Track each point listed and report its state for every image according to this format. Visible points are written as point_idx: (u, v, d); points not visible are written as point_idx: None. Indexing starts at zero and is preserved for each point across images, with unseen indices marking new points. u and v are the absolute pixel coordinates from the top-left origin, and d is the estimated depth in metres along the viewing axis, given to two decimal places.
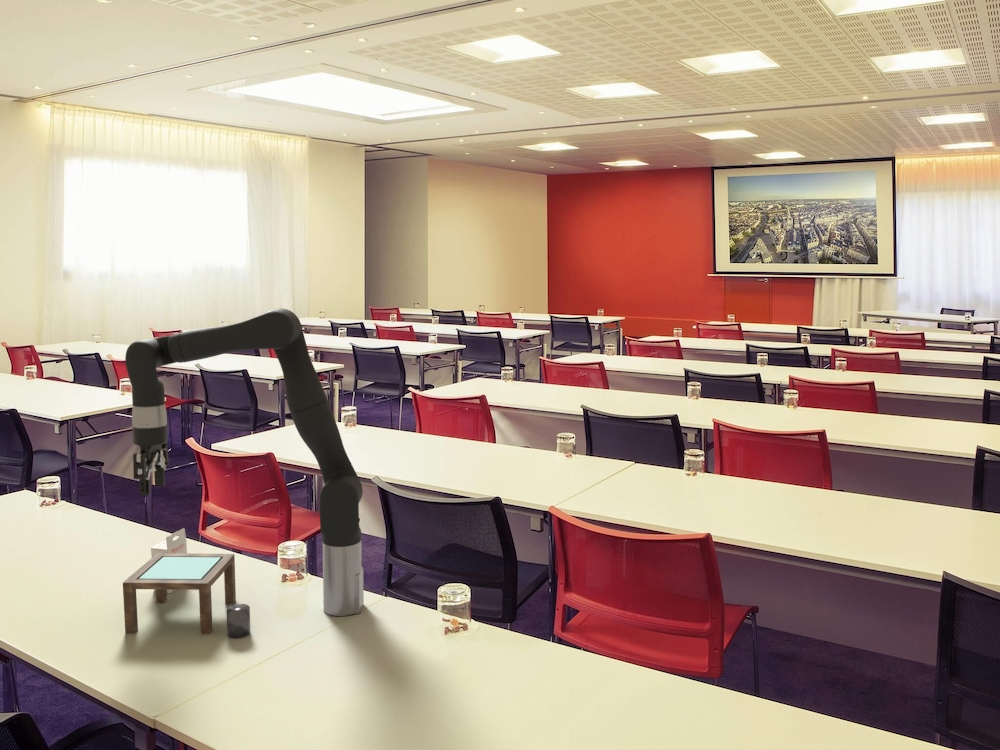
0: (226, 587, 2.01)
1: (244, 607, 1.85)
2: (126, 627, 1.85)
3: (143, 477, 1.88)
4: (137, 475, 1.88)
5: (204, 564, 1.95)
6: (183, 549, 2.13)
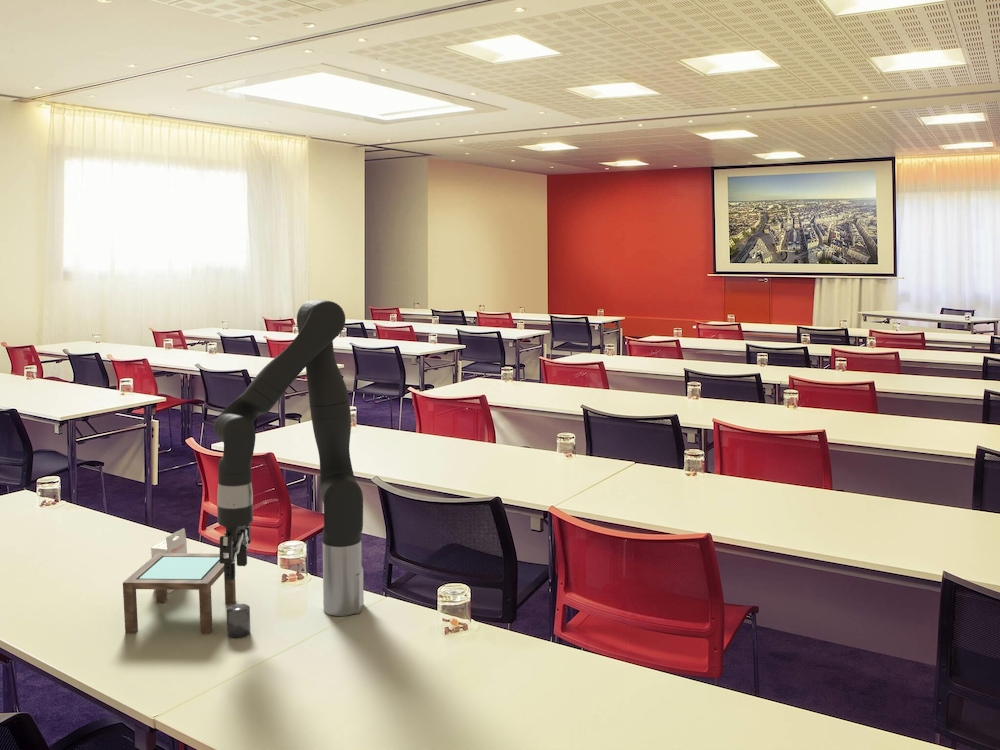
0: (226, 587, 2.01)
1: (244, 607, 1.85)
2: (126, 627, 1.85)
3: (230, 561, 1.76)
4: (223, 559, 1.76)
5: (204, 564, 1.95)
6: (183, 549, 2.13)
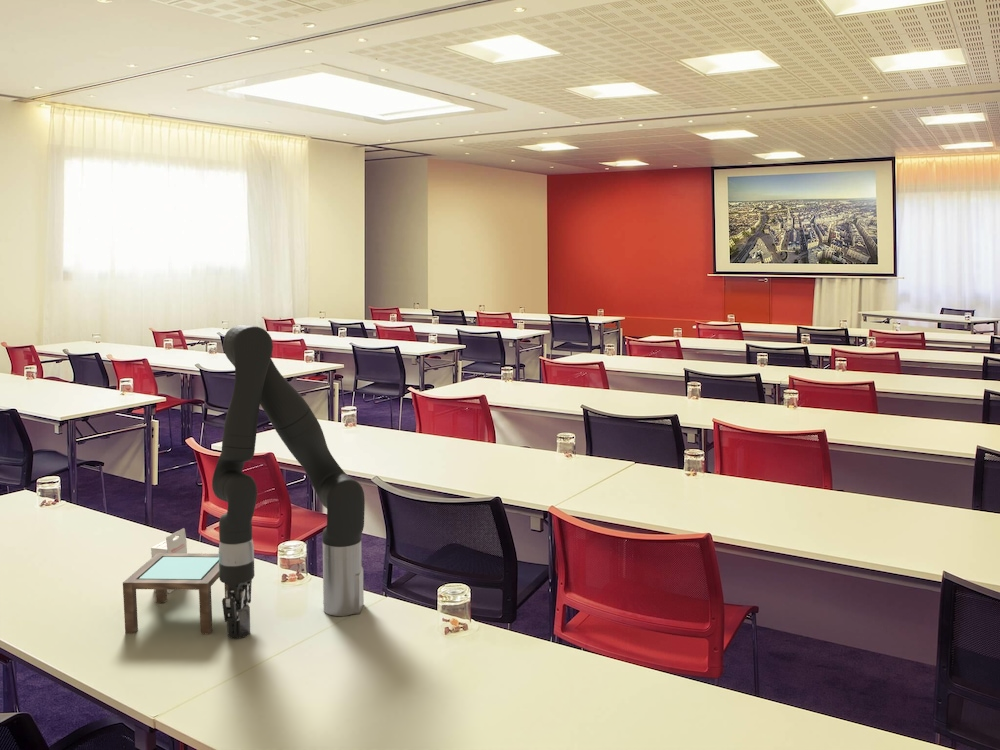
0: (226, 587, 2.01)
1: (244, 607, 1.85)
2: (126, 627, 1.85)
3: (235, 621, 1.79)
4: (228, 618, 1.79)
5: (204, 564, 1.95)
6: (183, 549, 2.13)
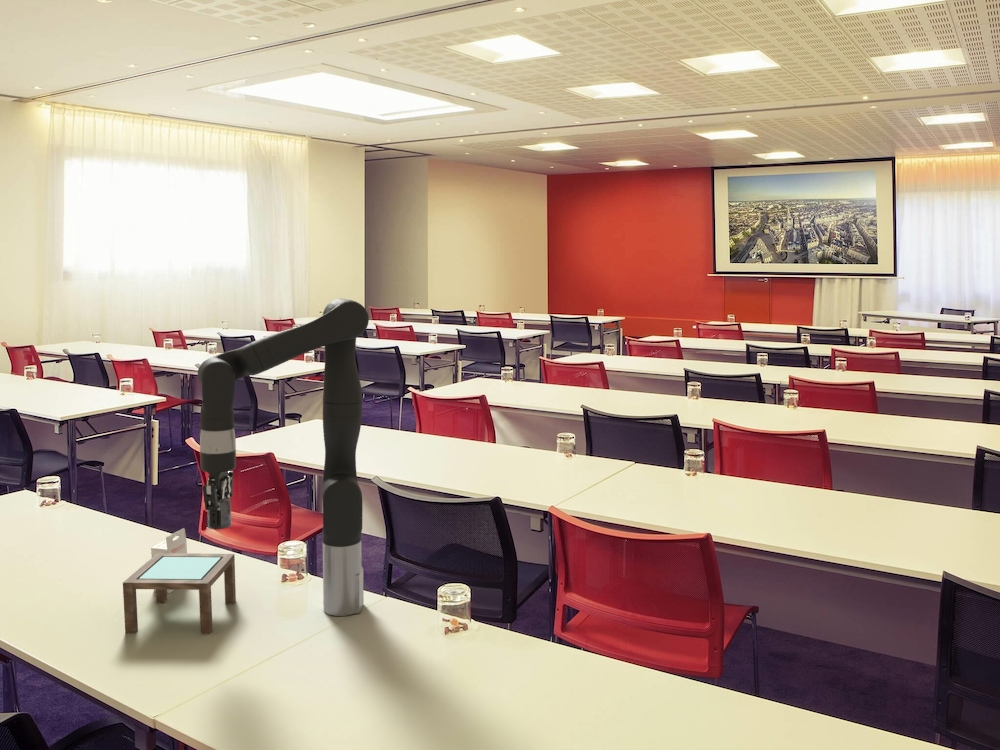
0: (226, 587, 2.01)
1: (225, 499, 1.83)
2: (126, 627, 1.85)
3: (216, 509, 1.77)
4: (209, 506, 1.77)
5: (204, 564, 1.95)
6: (183, 549, 2.13)
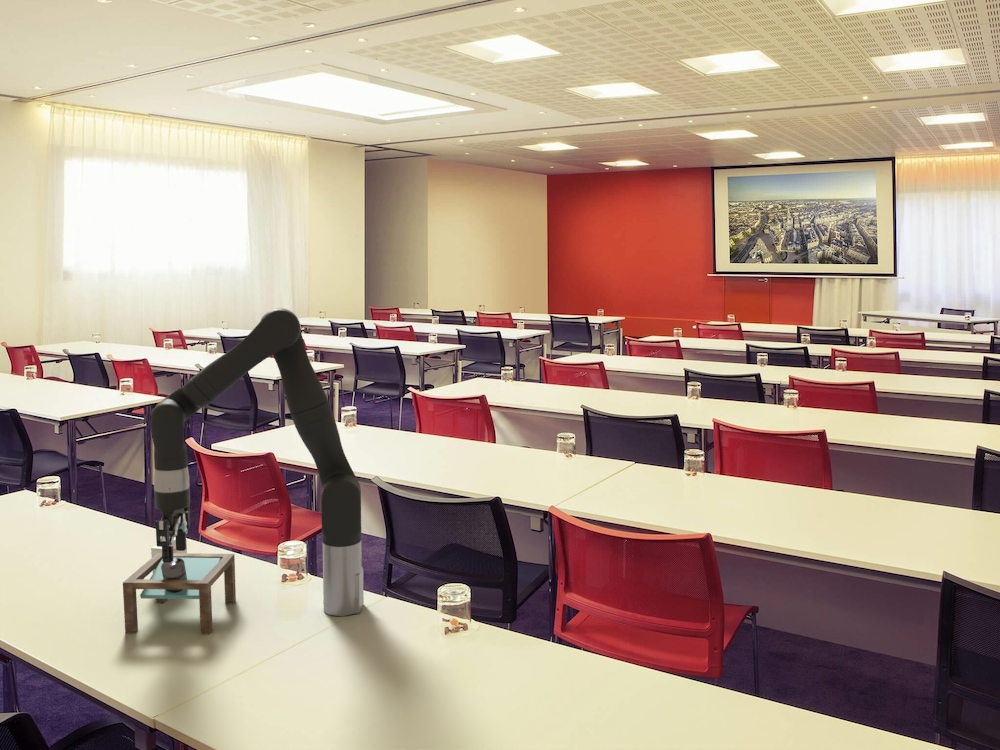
0: (226, 587, 2.01)
1: (179, 563, 1.88)
2: (126, 627, 1.85)
3: (167, 545, 1.81)
4: (160, 542, 1.81)
5: (204, 570, 1.95)
6: None
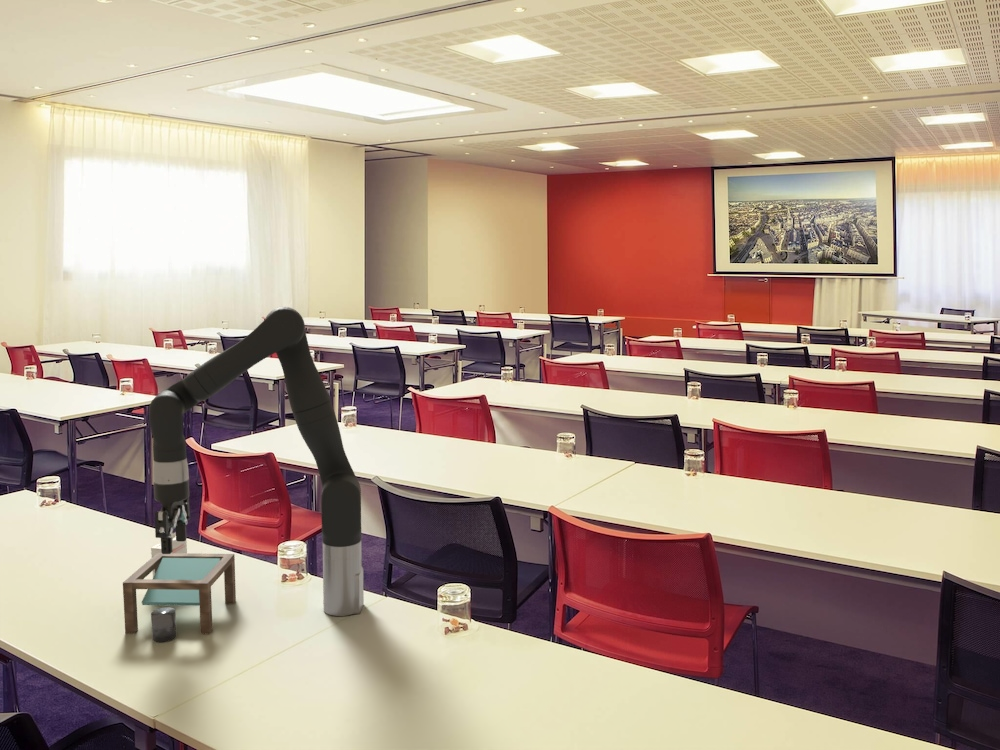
0: (226, 587, 2.01)
1: None
2: (126, 627, 1.85)
3: (165, 536, 1.81)
4: (159, 534, 1.81)
5: (204, 572, 1.95)
6: (183, 549, 2.13)
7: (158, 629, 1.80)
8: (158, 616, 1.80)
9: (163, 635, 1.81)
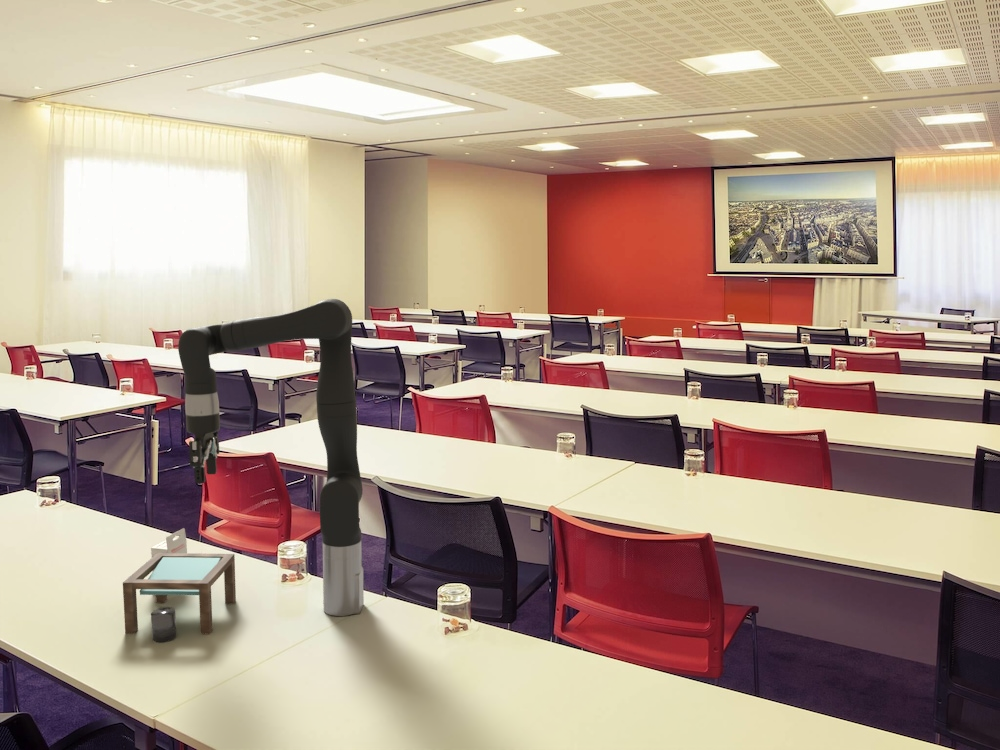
0: (226, 587, 2.01)
1: None
2: (126, 627, 1.85)
3: (199, 464, 1.88)
4: (193, 463, 1.88)
5: (204, 568, 1.95)
6: (183, 549, 2.13)
7: (158, 629, 1.80)
8: (158, 616, 1.80)
9: (163, 635, 1.81)
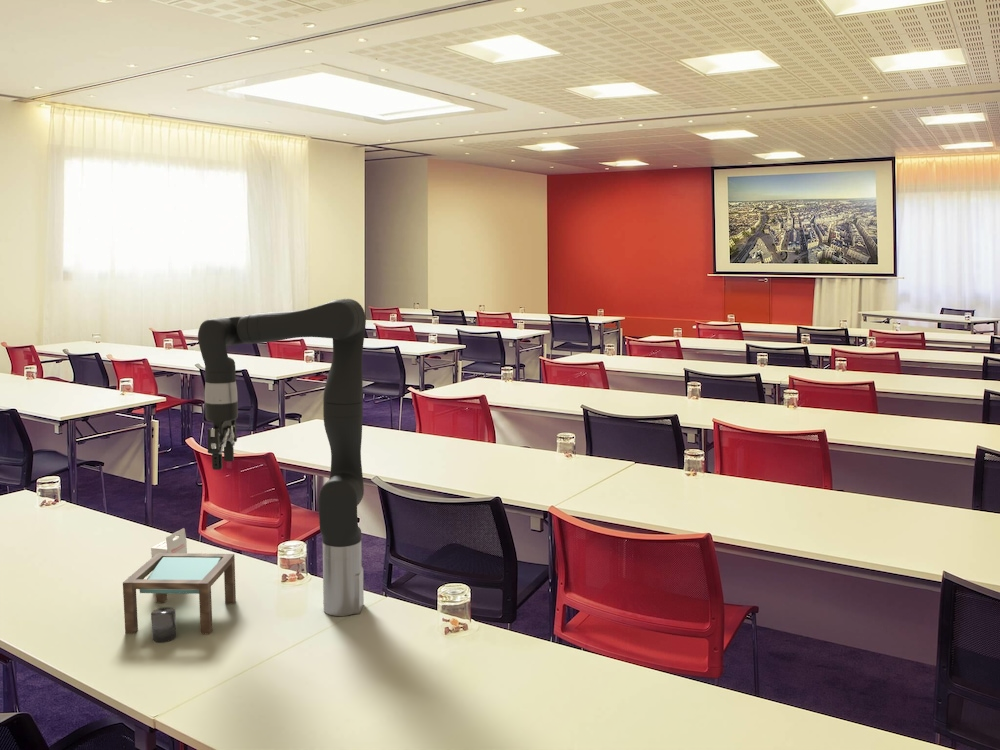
0: (226, 587, 2.01)
1: None
2: (126, 627, 1.85)
3: (217, 451, 1.93)
4: (211, 449, 1.93)
5: (204, 568, 1.95)
6: (183, 549, 2.13)
7: (158, 629, 1.80)
8: (158, 616, 1.80)
9: (163, 634, 1.81)
